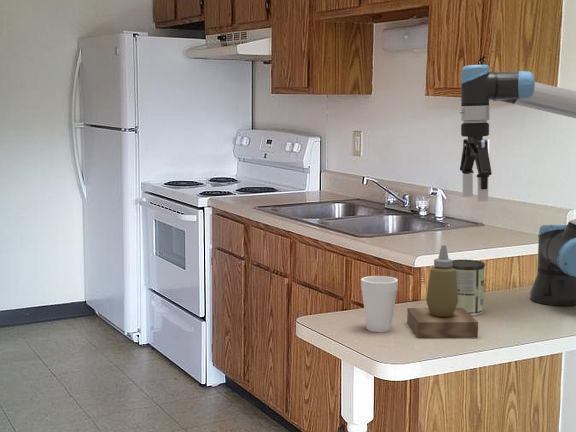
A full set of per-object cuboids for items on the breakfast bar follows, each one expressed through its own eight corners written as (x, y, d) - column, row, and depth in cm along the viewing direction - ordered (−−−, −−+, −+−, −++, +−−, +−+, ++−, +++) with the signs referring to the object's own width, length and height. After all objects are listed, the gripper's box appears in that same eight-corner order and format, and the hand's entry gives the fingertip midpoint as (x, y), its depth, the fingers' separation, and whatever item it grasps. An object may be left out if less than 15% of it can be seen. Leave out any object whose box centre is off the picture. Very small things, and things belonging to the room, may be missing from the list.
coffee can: (444, 306, 231) (445, 259, 230) (480, 307, 230) (482, 259, 229) (448, 315, 221) (449, 265, 219) (485, 316, 220) (487, 266, 218)
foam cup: (395, 334, 202) (396, 284, 200) (359, 332, 203) (359, 282, 202) (397, 325, 211) (398, 276, 209) (362, 323, 213) (363, 275, 211)
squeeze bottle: (431, 309, 211) (433, 242, 209) (461, 313, 207) (463, 244, 205) (421, 316, 204) (423, 246, 202) (452, 320, 200) (454, 249, 198)
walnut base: (462, 322, 214) (463, 307, 213) (477, 337, 199) (478, 322, 198) (407, 322, 213) (407, 308, 213) (417, 338, 198) (418, 322, 198)
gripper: (449, 122, 231) (449, 195, 234) (475, 122, 207) (475, 204, 209) (474, 121, 232) (474, 194, 235) (504, 121, 207) (503, 202, 210)
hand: (475, 198), depth 222 cm, fingers open, 13 cm apart
